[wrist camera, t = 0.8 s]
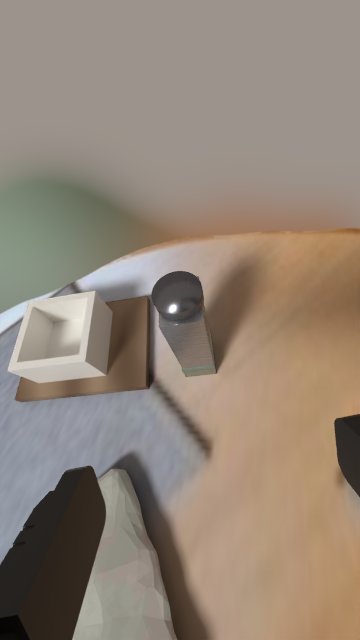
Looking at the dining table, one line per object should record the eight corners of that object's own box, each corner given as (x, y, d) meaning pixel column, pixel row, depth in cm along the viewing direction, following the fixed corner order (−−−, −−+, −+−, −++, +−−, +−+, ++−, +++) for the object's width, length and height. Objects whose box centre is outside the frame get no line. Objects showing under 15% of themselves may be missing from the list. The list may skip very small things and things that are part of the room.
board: (149, 300, 34) (147, 295, 33) (148, 388, 28) (145, 386, 27) (43, 317, 36) (38, 313, 35) (22, 402, 30) (14, 399, 29)
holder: (112, 311, 33) (95, 290, 29) (106, 375, 29) (85, 361, 24) (53, 320, 34) (28, 301, 30) (38, 383, 30) (7, 370, 26)
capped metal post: (212, 339, 30) (199, 264, 18) (217, 373, 28) (204, 313, 16) (182, 343, 30) (151, 272, 19) (185, 377, 28) (151, 320, 17)
